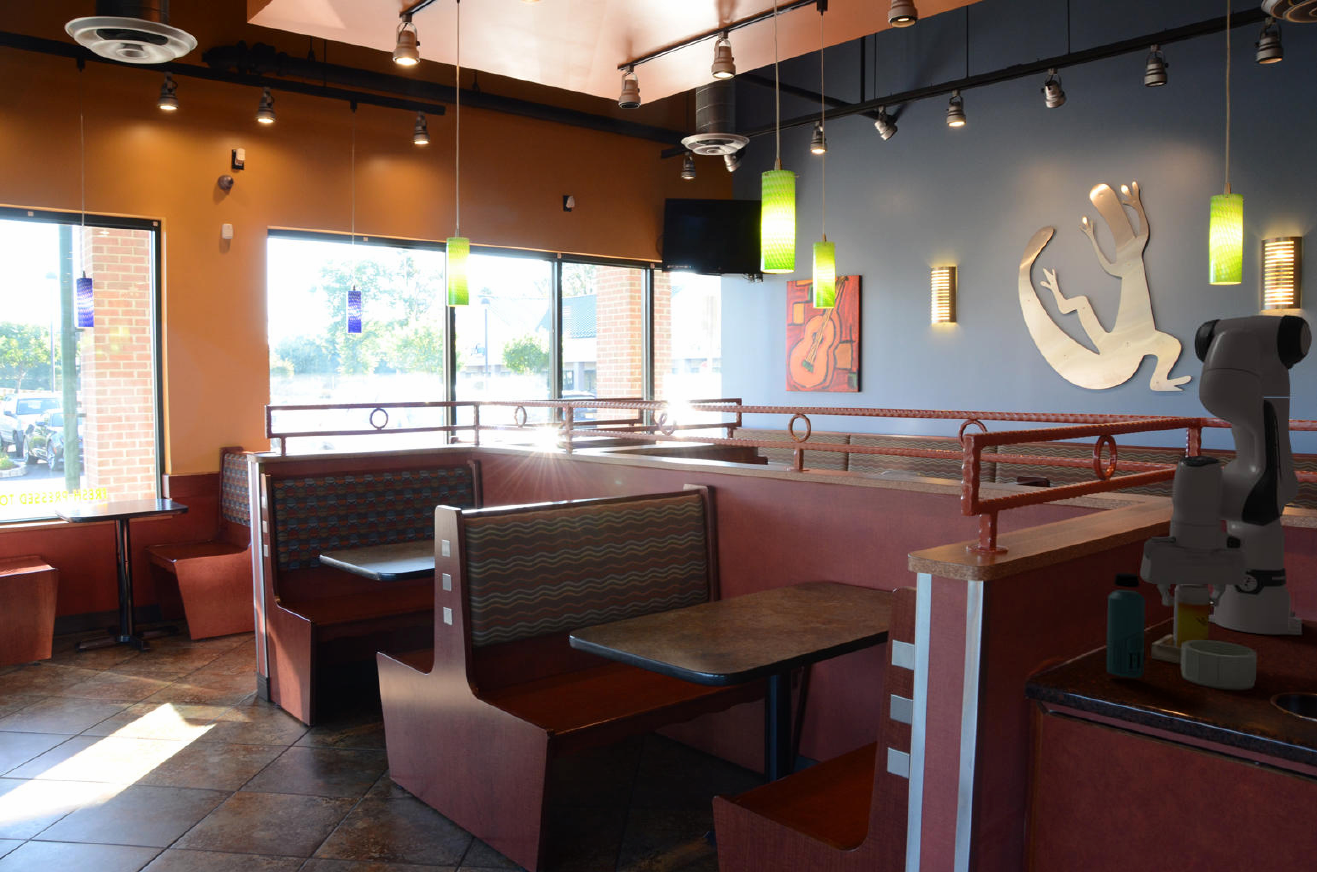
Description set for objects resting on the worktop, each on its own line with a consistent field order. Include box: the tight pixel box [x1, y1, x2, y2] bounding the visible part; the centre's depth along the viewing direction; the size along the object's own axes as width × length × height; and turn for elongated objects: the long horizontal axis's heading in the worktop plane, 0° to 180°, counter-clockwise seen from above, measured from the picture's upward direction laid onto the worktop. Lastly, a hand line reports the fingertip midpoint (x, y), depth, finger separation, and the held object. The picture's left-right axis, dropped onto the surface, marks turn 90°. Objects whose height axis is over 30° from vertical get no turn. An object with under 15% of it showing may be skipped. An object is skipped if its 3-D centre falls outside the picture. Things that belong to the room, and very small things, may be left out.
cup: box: [1180, 639, 1258, 691], centre depth 173 cm, size 12×12×6 cm
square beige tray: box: [1150, 633, 1182, 665], centre depth 187 cm, size 11×11×4 cm
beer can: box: [1172, 584, 1211, 648], centre depth 187 cm, size 6×6×15 cm
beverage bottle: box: [1105, 572, 1146, 678], centre depth 172 cm, size 6×7×20 cm
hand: (1190, 605), depth 187 cm, fingers open, 8 cm apart
